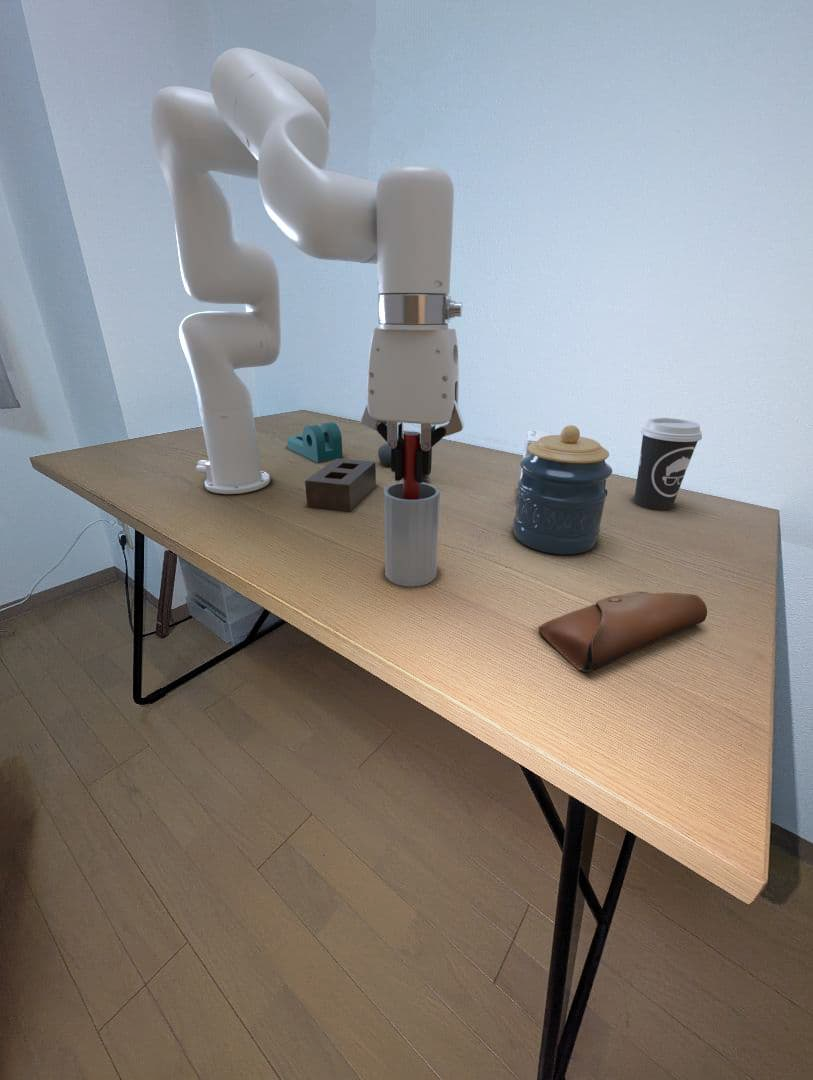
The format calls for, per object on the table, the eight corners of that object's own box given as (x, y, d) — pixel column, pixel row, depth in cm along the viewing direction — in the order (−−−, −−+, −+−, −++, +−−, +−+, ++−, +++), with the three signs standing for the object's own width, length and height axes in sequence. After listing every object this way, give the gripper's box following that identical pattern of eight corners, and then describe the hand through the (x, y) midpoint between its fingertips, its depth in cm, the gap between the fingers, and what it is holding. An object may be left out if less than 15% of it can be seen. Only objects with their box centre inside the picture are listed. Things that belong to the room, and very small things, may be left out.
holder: (307, 506, 86) (304, 480, 83) (337, 481, 98) (336, 458, 96) (350, 511, 84) (349, 485, 81) (376, 485, 96) (375, 461, 94)
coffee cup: (680, 499, 90) (702, 419, 83) (683, 517, 82) (708, 431, 75) (626, 491, 93) (643, 414, 87) (624, 508, 86) (642, 425, 79)
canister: (526, 514, 83) (539, 413, 75) (604, 531, 77) (627, 422, 69) (500, 543, 73) (512, 429, 65) (587, 564, 67) (612, 441, 59)
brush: (398, 555, 62) (398, 435, 55) (403, 546, 65) (404, 430, 57) (417, 557, 62) (419, 436, 55) (422, 548, 64) (425, 431, 57)
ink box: (545, 506, 86) (555, 442, 81) (517, 504, 87) (525, 440, 82) (544, 490, 94) (552, 431, 88) (518, 488, 95) (525, 429, 89)
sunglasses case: (640, 588, 60) (677, 560, 55) (676, 637, 57) (719, 613, 52) (532, 628, 53) (562, 600, 47) (566, 687, 49) (603, 665, 44)
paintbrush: (441, 480, 99) (442, 456, 97) (423, 484, 96) (423, 461, 94) (386, 458, 113) (385, 437, 111) (369, 462, 110) (368, 441, 108)
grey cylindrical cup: (378, 582, 62) (376, 497, 57) (393, 558, 68) (393, 479, 63) (430, 590, 61) (433, 503, 55) (440, 564, 67) (444, 484, 61)
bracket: (342, 457, 113) (340, 424, 110) (317, 462, 109) (315, 428, 106) (307, 442, 126) (304, 412, 122) (283, 446, 122) (280, 415, 118)
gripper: (492, 314, 52) (479, 475, 60) (356, 312, 55) (361, 464, 64) (483, 316, 45) (470, 495, 53) (330, 313, 49) (340, 482, 57)
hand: (411, 477), depth 58 cm, fingers closed on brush, 2 cm apart
